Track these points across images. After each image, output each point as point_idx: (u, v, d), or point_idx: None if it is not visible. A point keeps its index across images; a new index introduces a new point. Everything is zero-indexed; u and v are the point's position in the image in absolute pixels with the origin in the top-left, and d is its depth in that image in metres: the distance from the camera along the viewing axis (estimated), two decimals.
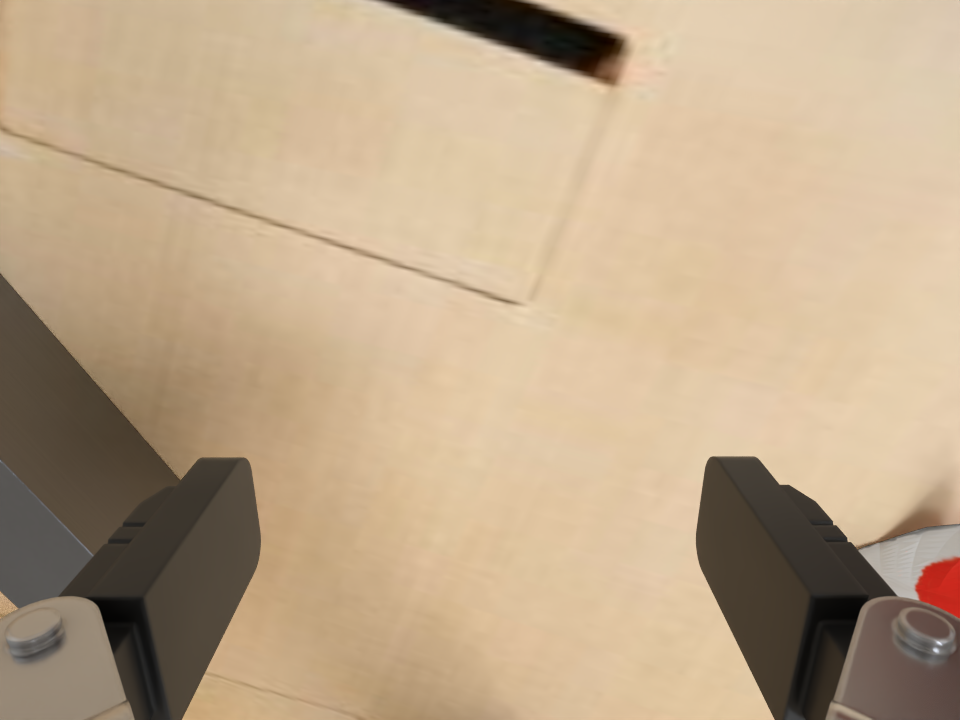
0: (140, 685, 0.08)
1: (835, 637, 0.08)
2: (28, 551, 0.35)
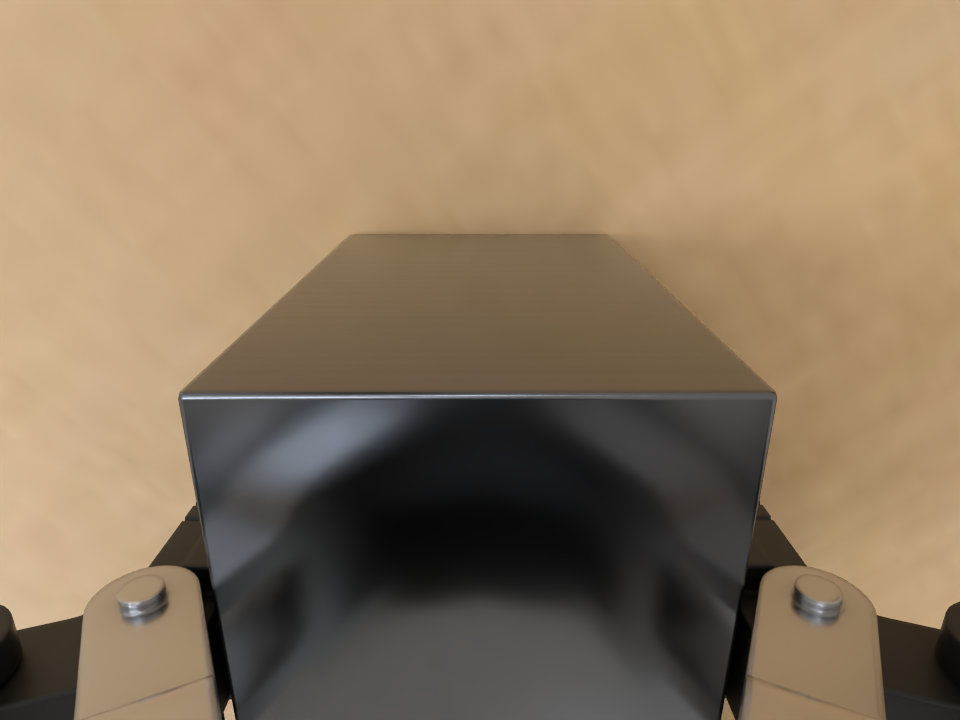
0: None
1: (742, 605, 0.08)
2: (457, 690, 0.08)
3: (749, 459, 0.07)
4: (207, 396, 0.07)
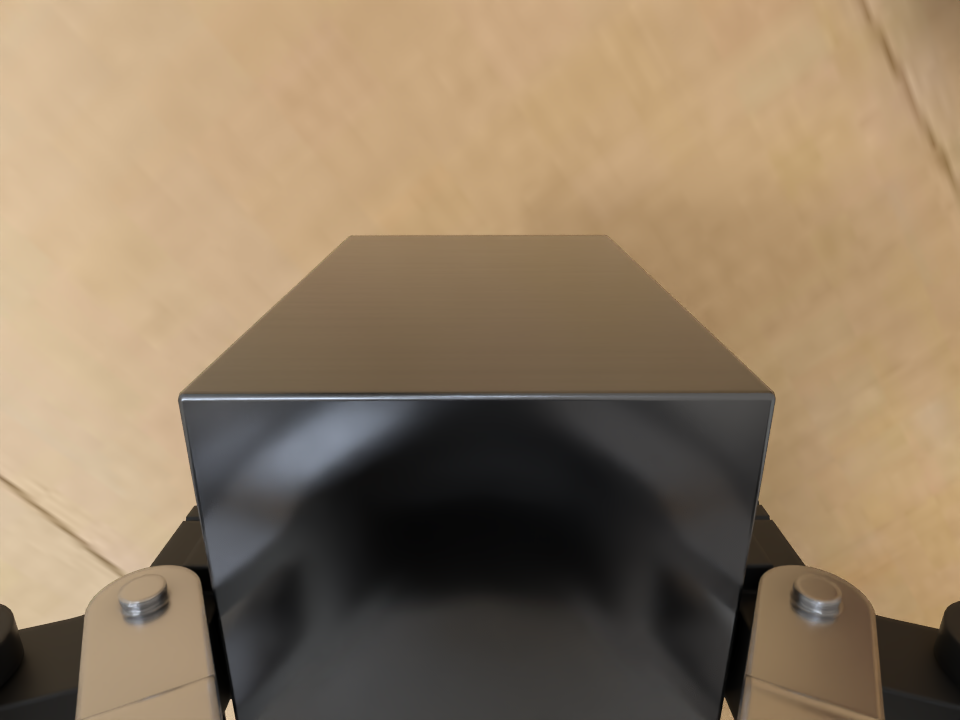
0: None
1: (741, 604, 0.08)
2: (458, 689, 0.08)
3: (748, 459, 0.07)
4: (207, 398, 0.07)
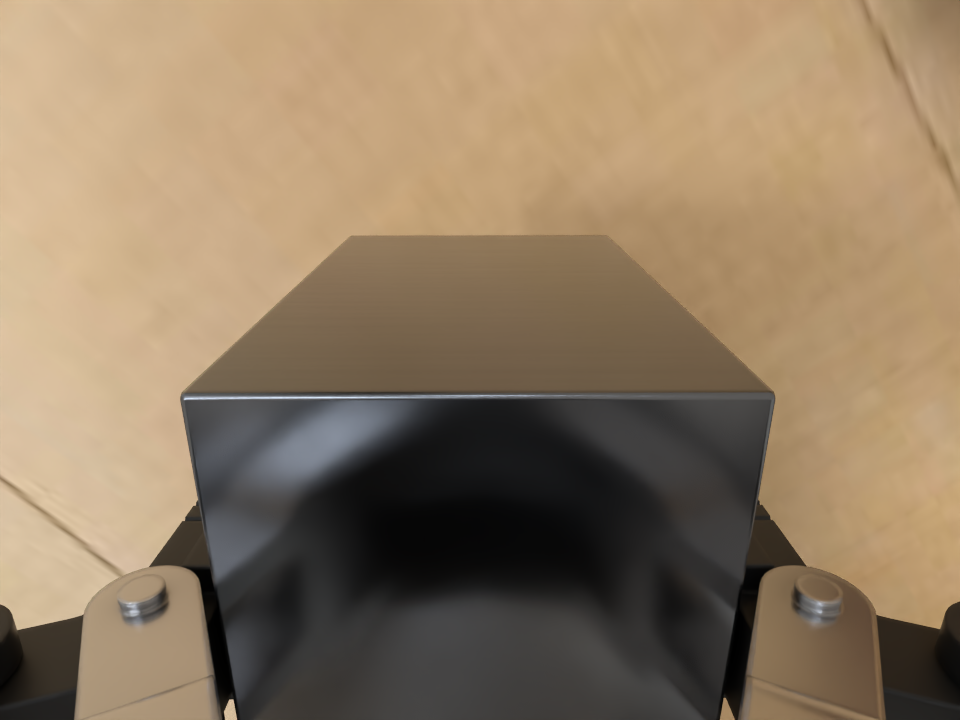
0: None
1: (742, 605, 0.08)
2: (458, 688, 0.08)
3: (748, 459, 0.07)
4: (208, 396, 0.07)
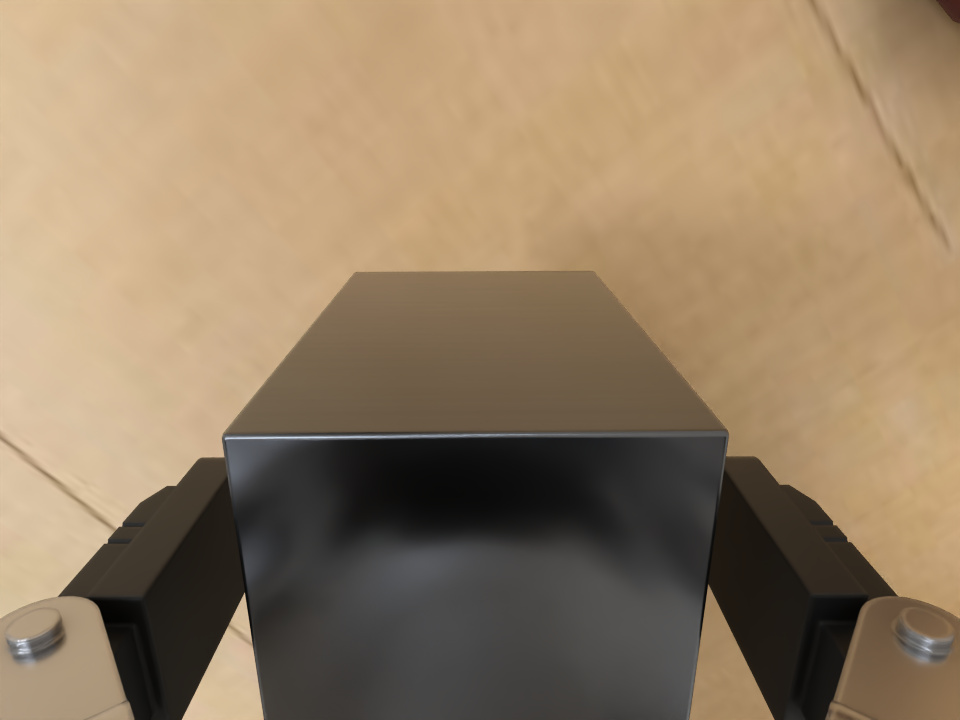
0: (141, 684, 0.08)
1: (835, 637, 0.08)
2: (459, 688, 0.09)
3: (707, 486, 0.08)
4: (246, 436, 0.08)
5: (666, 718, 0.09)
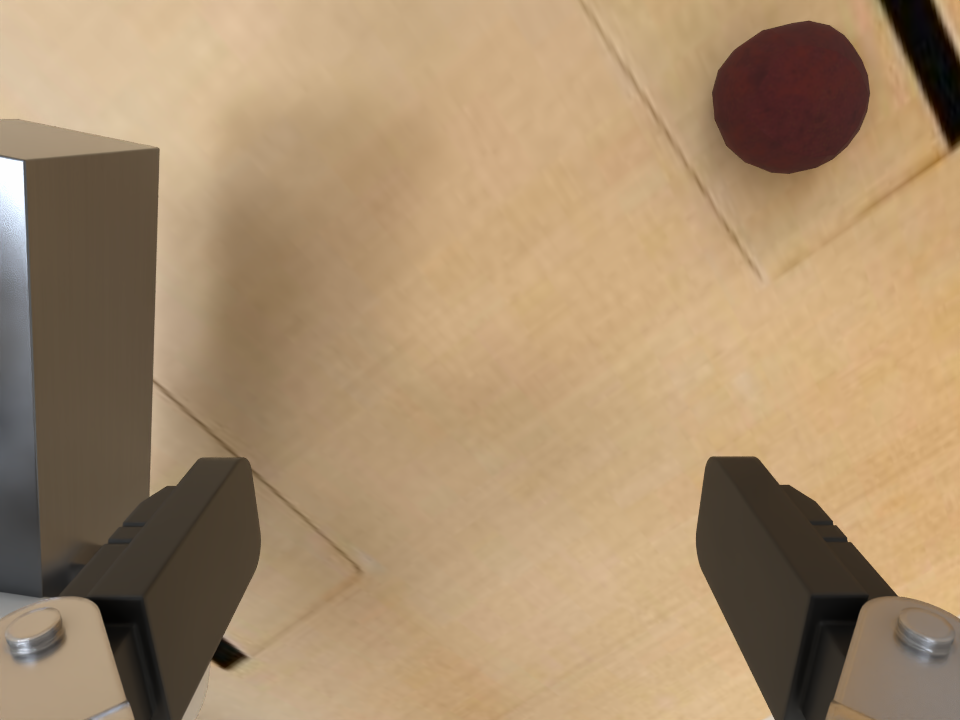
0: (141, 684, 0.08)
1: (835, 637, 0.08)
2: None
3: (19, 183, 0.21)
4: None
5: (20, 297, 0.22)
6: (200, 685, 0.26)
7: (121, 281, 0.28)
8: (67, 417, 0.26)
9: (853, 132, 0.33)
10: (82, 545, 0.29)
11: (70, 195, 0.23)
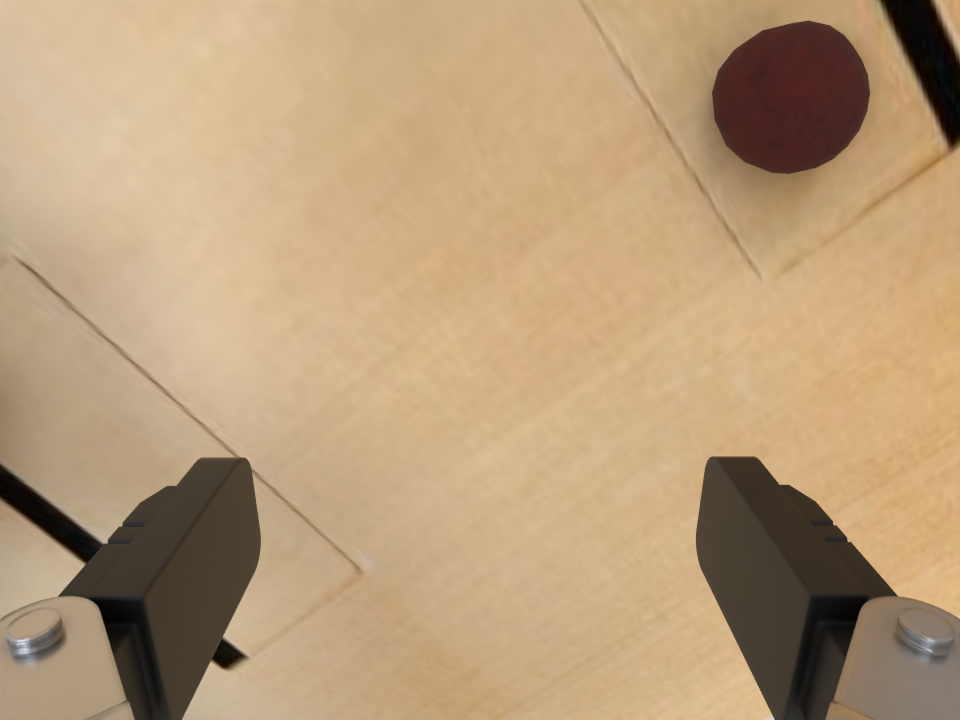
0: (141, 684, 0.08)
1: (835, 637, 0.08)
2: None
3: None
4: None
5: None
6: None
7: None
8: None
9: (853, 132, 0.33)
10: None
11: None
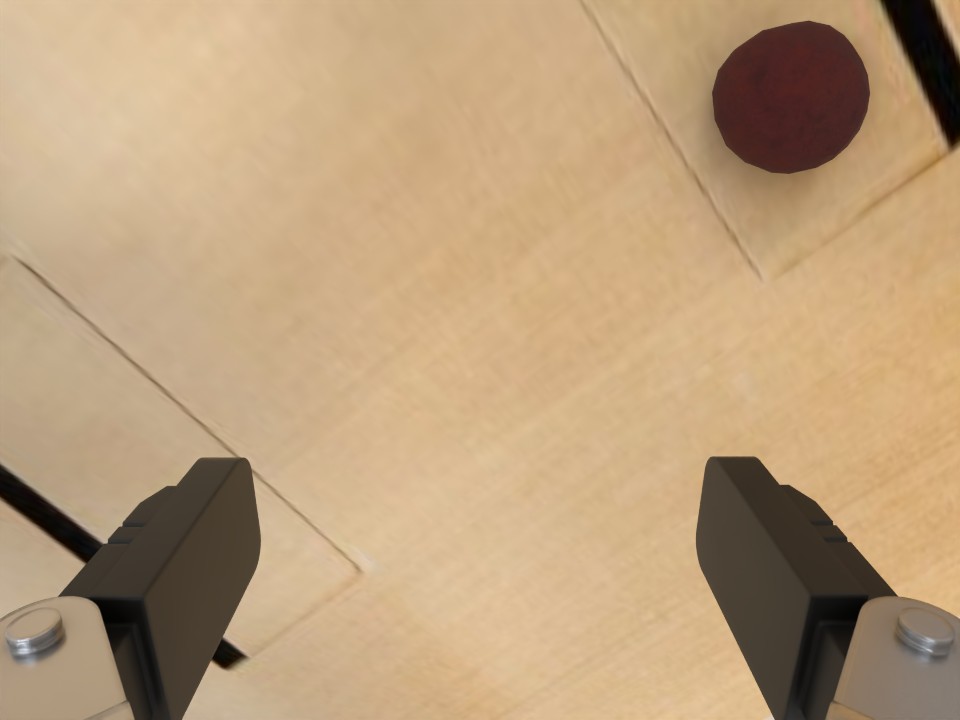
0: (141, 684, 0.08)
1: (835, 637, 0.08)
2: None
3: None
4: None
5: None
6: None
7: None
8: None
9: (853, 132, 0.33)
10: None
11: None
